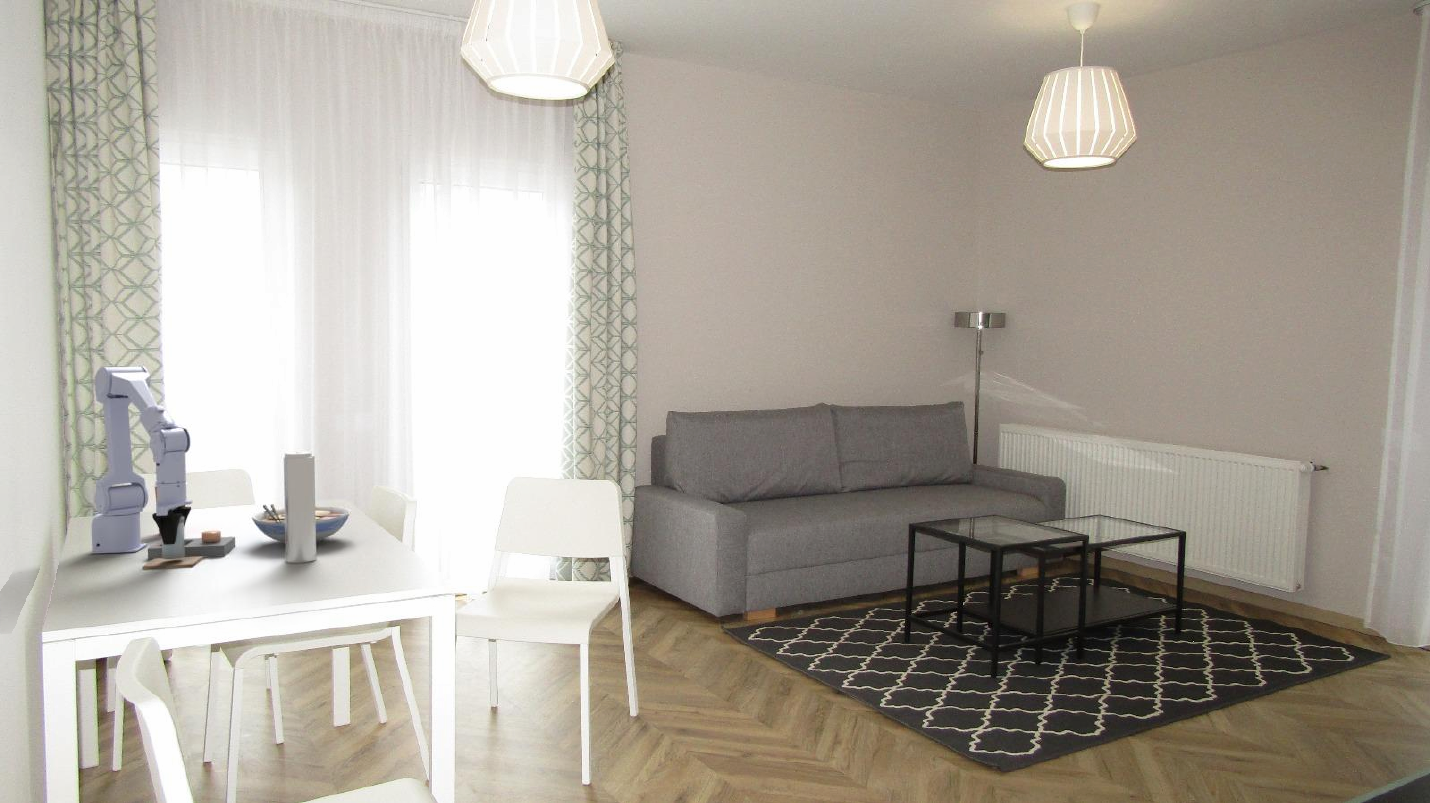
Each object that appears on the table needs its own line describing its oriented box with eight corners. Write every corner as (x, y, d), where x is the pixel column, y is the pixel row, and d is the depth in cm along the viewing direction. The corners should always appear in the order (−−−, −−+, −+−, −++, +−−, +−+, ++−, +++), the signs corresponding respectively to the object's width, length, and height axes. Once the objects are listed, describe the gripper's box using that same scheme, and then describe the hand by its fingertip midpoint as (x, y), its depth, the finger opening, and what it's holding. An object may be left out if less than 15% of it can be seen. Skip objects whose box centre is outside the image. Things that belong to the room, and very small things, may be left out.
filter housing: (148, 559, 214) (147, 548, 213) (162, 549, 223) (162, 539, 223) (224, 555, 218) (224, 545, 217) (235, 546, 227) (235, 536, 227)
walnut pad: (142, 569, 204) (142, 566, 204) (154, 560, 212) (154, 558, 212) (192, 566, 207) (192, 564, 207) (203, 558, 215) (203, 556, 215)
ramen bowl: (359, 547, 228) (359, 514, 227) (255, 557, 216) (254, 522, 216) (344, 529, 249) (343, 499, 249) (249, 537, 238) (248, 506, 238)
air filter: (304, 564, 210) (302, 454, 209) (279, 562, 212) (277, 453, 210) (322, 557, 217) (320, 451, 215) (297, 556, 218) (295, 450, 216)
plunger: (199, 542, 219) (199, 534, 219) (204, 539, 223) (204, 530, 223) (218, 541, 220) (218, 533, 220) (222, 538, 224) (222, 530, 224)
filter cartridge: (158, 559, 207) (157, 519, 206) (165, 555, 211) (164, 515, 211) (181, 558, 208) (180, 518, 207) (188, 554, 212) (187, 515, 212)
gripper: (181, 486, 202) (182, 547, 203) (200, 476, 216) (201, 534, 217) (144, 487, 201) (146, 549, 201) (166, 477, 215) (168, 535, 216)
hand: (172, 541), depth 209 cm, fingers closed on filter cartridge, 4 cm apart
